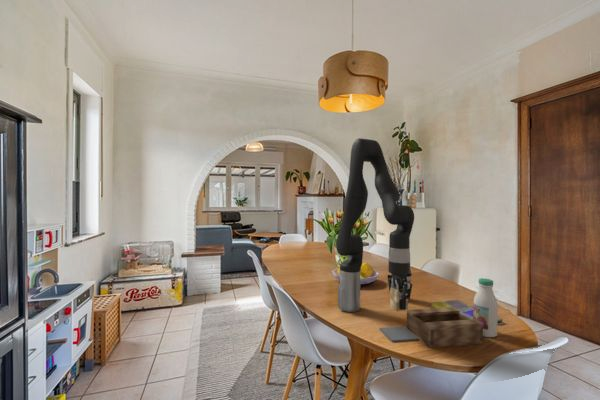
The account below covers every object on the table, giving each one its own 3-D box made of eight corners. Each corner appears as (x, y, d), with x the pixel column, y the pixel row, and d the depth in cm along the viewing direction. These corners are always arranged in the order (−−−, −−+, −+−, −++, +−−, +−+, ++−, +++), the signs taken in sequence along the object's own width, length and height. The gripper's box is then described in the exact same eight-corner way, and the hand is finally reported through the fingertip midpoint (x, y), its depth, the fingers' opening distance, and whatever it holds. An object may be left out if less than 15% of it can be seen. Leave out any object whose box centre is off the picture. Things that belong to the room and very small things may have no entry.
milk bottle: (488, 328, 115) (489, 277, 115) (502, 338, 108) (503, 282, 107) (468, 328, 115) (469, 276, 115) (480, 337, 107) (482, 282, 107)
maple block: (408, 310, 107) (408, 290, 107) (396, 311, 106) (396, 291, 106) (401, 305, 111) (401, 287, 112) (390, 306, 111) (390, 287, 111)
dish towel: (468, 329, 115) (468, 322, 115) (428, 306, 139) (428, 300, 139) (505, 326, 119) (506, 319, 119) (460, 304, 143) (460, 298, 143)
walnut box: (430, 347, 100) (430, 326, 100) (406, 328, 115) (407, 310, 115) (482, 343, 103) (483, 323, 103) (453, 324, 118) (453, 307, 118)
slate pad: (391, 342, 103) (391, 340, 103) (379, 329, 113) (379, 327, 113) (418, 340, 105) (418, 338, 105) (403, 327, 115) (403, 326, 115)
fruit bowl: (381, 290, 162) (381, 269, 162) (330, 287, 166) (331, 266, 166) (376, 276, 189) (376, 258, 189) (333, 274, 194) (333, 256, 194)
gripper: (419, 263, 103) (419, 313, 103) (398, 256, 117) (398, 300, 117) (399, 264, 101) (399, 314, 101) (380, 256, 115) (380, 301, 115)
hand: (398, 306), depth 109 cm, fingers closed on maple block, 4 cm apart
